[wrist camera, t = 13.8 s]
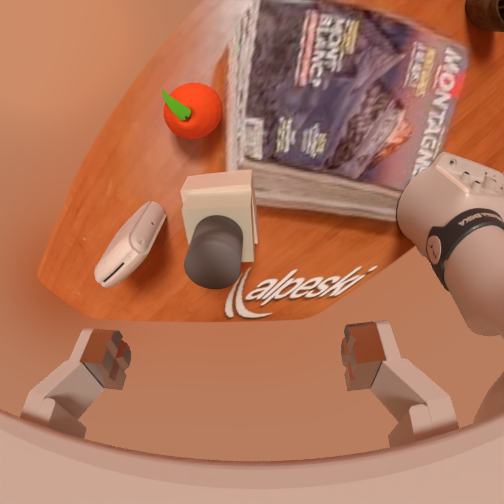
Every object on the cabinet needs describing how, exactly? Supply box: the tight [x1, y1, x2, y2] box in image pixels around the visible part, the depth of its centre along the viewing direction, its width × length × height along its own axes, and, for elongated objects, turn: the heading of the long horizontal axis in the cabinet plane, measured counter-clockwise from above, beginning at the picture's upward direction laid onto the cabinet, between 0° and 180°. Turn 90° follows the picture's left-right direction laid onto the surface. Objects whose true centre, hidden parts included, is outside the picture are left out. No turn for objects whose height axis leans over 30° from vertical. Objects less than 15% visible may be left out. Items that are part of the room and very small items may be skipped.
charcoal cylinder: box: [184, 215, 243, 289], centre depth 35 cm, size 6×6×6 cm
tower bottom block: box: [180, 169, 258, 244], centre depth 42 cm, size 9×9×5 cm
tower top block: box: [182, 191, 255, 262], centre depth 39 cm, size 8×8×4 cm
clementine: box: [162, 83, 222, 139], centre depth 33 cm, size 8×7×7 cm
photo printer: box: [95, 201, 166, 288], centre depth 42 cm, size 10×4×12 cm, turn 130°
